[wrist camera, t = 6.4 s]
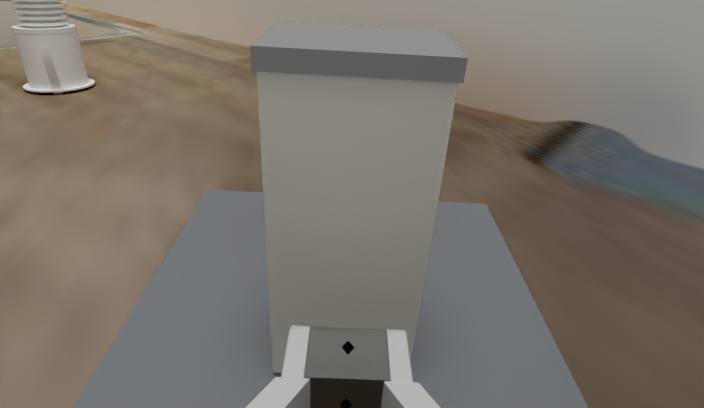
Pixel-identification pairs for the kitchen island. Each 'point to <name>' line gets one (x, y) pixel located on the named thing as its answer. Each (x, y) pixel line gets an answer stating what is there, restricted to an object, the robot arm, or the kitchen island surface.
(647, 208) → the kitchen island surface
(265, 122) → the beige rectangular block
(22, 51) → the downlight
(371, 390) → the robot arm
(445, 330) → the base
